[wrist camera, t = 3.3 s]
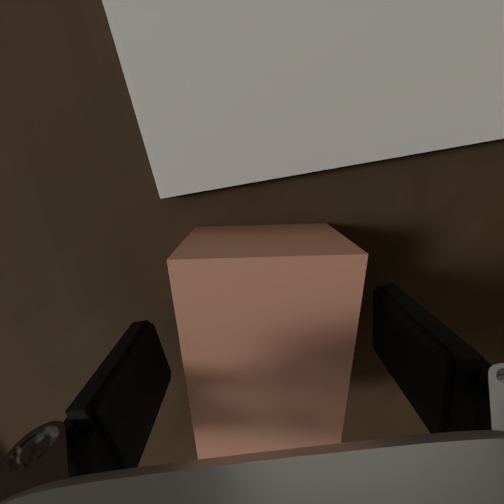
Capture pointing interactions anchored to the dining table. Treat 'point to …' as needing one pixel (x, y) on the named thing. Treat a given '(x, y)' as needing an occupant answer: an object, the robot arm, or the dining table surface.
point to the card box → (266, 333)
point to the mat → (305, 83)
